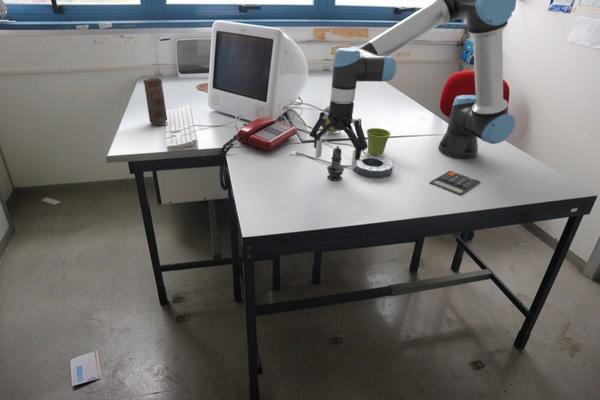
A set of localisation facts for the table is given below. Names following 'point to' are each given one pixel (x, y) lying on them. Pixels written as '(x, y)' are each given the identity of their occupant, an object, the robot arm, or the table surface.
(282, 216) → the table surface
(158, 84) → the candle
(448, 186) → the calculator
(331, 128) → the alarm clock
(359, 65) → the robot arm
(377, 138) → the plant pot
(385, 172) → the ring
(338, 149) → the dark stone statuette
